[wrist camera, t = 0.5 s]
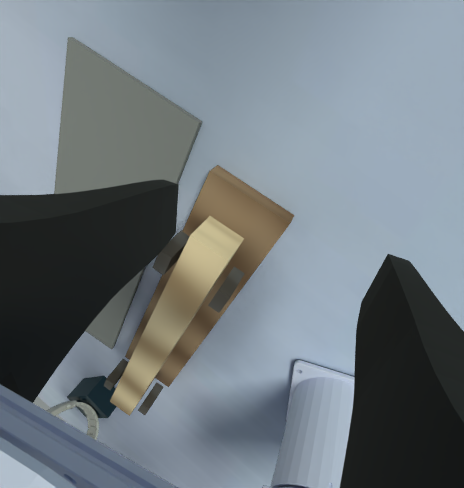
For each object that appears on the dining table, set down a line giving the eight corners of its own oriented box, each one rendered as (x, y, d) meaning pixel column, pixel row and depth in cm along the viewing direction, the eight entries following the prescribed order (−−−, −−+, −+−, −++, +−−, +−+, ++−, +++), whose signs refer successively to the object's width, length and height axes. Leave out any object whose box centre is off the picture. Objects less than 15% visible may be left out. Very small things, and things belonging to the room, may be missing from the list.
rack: (173, 378, 37) (141, 429, 32) (131, 348, 37) (93, 394, 32) (294, 215, 21) (266, 268, 16) (217, 165, 21) (167, 201, 16)
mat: (114, 346, 38) (111, 349, 38) (47, 300, 39) (44, 302, 38) (202, 121, 20) (199, 123, 19) (72, 37, 20) (67, 37, 20)
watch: (110, 407, 48) (50, 486, 40) (75, 370, 46) (4, 445, 37) (131, 406, 45) (72, 492, 36) (96, 366, 43) (23, 447, 34)
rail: (143, 394, 33) (129, 415, 31) (125, 381, 33) (109, 401, 31) (244, 238, 18) (228, 260, 16) (209, 215, 18) (190, 235, 17)
